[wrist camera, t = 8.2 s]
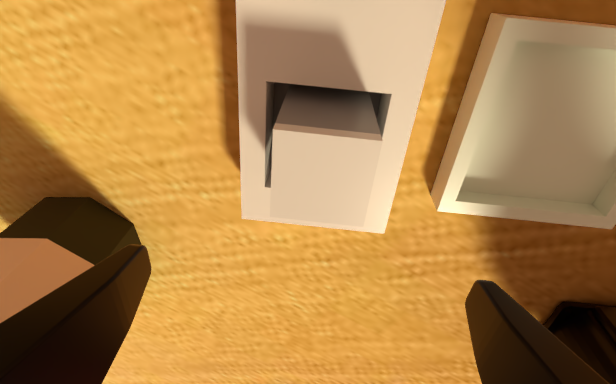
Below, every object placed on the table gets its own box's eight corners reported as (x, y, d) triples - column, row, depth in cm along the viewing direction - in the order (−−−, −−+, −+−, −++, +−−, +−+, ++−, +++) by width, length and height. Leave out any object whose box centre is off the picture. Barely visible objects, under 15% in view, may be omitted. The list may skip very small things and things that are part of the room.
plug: (355, 160, 20) (363, 227, 15) (286, 153, 20) (269, 216, 15) (368, 91, 18) (382, 141, 12) (290, 82, 18) (272, 129, 13)
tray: (593, 211, 21) (611, 229, 20) (430, 194, 21) (437, 211, 20) (710, 35, 16) (748, 41, 14) (490, 12, 16) (506, 17, 14)
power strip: (378, 202, 22) (393, 281, 16) (252, 189, 22) (225, 263, 16) (502, -318, 11) (672, -605, 5) (249, -341, 11) (164, -649, 5)
